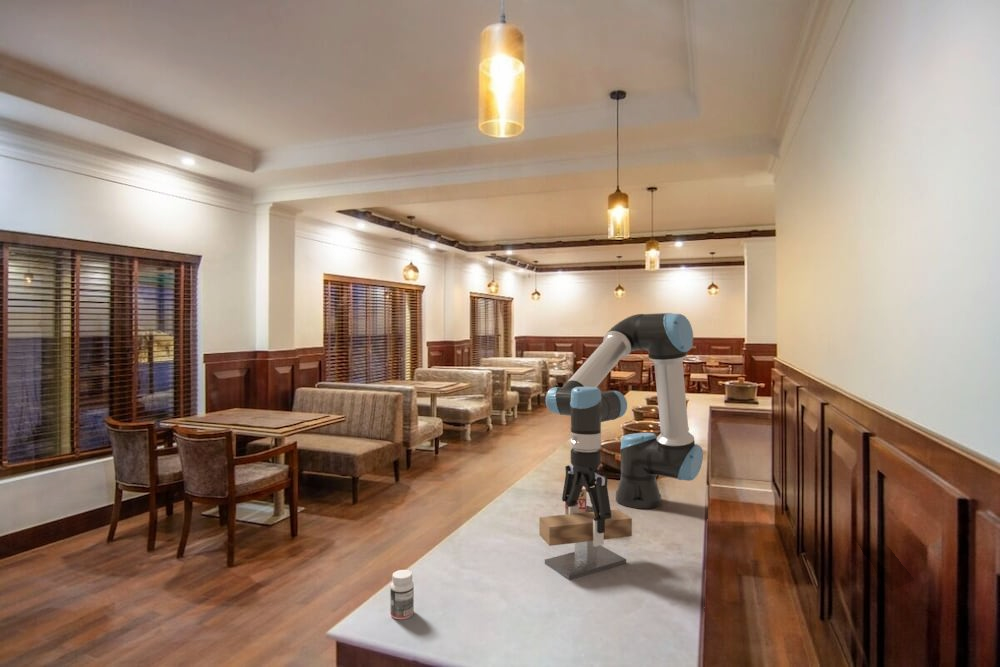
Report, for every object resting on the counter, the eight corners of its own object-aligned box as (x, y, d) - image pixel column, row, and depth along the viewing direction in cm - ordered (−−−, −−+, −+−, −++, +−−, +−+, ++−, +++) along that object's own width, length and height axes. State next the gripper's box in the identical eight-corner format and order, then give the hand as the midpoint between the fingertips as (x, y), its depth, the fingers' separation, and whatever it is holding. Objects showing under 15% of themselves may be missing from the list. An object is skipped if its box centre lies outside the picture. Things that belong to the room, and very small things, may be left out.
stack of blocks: (567, 505, 178) (567, 468, 178) (586, 506, 177) (586, 469, 177) (565, 528, 157) (565, 487, 156) (586, 529, 156) (586, 488, 155)
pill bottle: (391, 608, 111) (391, 568, 111) (414, 607, 112) (414, 568, 112) (389, 620, 107) (389, 579, 107) (412, 619, 107) (412, 578, 107)
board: (618, 526, 139) (618, 509, 139) (631, 536, 132) (631, 518, 132) (539, 535, 133) (539, 517, 133) (549, 545, 127) (549, 527, 126)
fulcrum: (600, 548, 142) (600, 522, 142) (626, 563, 133) (626, 535, 133) (544, 563, 133) (544, 535, 133) (568, 579, 124) (568, 550, 124)
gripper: (548, 442, 140) (548, 526, 141) (602, 459, 121) (602, 557, 121) (571, 439, 144) (570, 521, 144) (627, 456, 125) (627, 550, 125)
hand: (585, 538), depth 133 cm, fingers open, 9 cm apart
